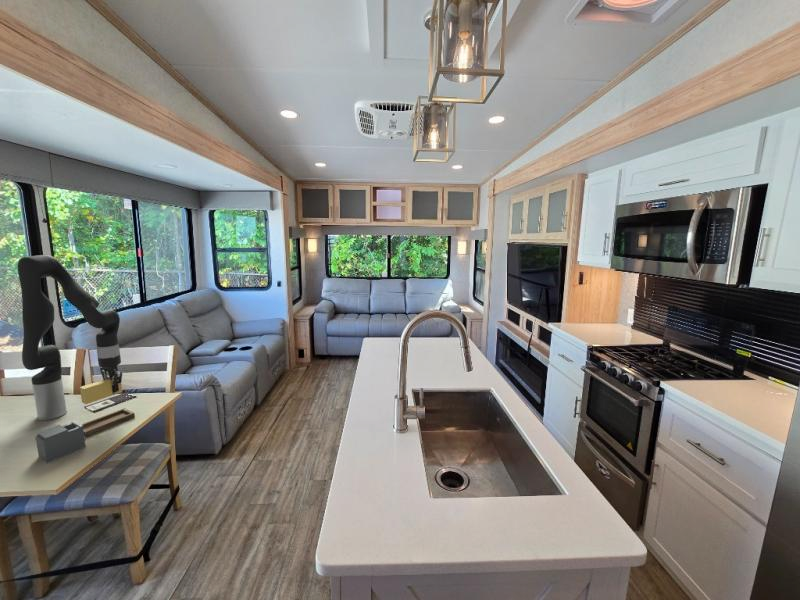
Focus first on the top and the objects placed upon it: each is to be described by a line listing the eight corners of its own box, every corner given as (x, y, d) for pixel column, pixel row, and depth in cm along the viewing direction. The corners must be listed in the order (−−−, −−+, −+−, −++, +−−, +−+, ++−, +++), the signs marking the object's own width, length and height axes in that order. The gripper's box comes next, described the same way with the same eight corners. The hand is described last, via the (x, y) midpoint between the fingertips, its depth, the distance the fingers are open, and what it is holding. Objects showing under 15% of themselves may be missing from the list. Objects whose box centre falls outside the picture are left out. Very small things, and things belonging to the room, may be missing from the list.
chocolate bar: (137, 395, 172) (94, 411, 156) (137, 397, 172) (94, 413, 156) (127, 391, 175) (84, 406, 159) (127, 393, 176) (84, 408, 159)
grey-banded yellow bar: (81, 402, 140) (79, 386, 138) (118, 390, 151) (116, 376, 150) (86, 404, 138) (83, 388, 137) (122, 392, 150) (120, 377, 148)
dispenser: (38, 457, 124) (34, 433, 123) (77, 441, 134) (74, 419, 133) (47, 463, 122) (43, 439, 120) (85, 446, 132) (82, 424, 130)
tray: (75, 431, 141) (74, 426, 140) (124, 412, 157) (124, 408, 157) (85, 437, 137) (84, 432, 137) (134, 417, 153) (134, 412, 153)
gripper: (90, 354, 144) (95, 390, 148) (107, 360, 139) (111, 397, 142) (110, 349, 151) (115, 384, 154) (127, 355, 145) (131, 391, 148)
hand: (113, 390), depth 148 cm, fingers closed on grey-banded yellow bar, 3 cm apart
